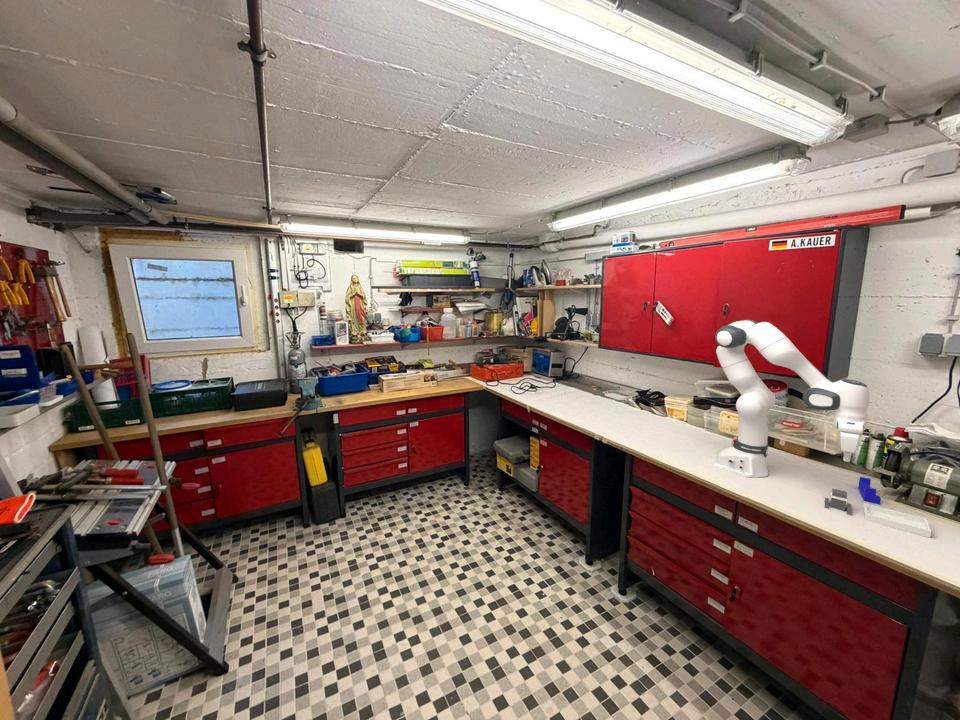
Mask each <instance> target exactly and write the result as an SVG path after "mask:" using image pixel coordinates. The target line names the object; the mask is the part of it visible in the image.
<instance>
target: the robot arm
mask: <svg viewBox="0 0 960 720" xmlns="http://www.w3.org/2000/svg"><path fill="white" fill-rule="evenodd" d="M714 339H715V342H716V344H717V345H718V346H717V348H716V350H715V353H716V356H717V359H718V362H719V364H720V366H721V369H722V370H723V372H724V374H725V376H726V378H727V379H728V382H729V384H730V385H732V386H733V387H734V388H735V389H736V390H737V392H739V394H740V396H739V397H738V399H737V400H736V403H735V409H736V410H737V416H738V417H737V418H738V434H737V436H738V437H737V436H734V437H733V438H732V443H731V444H732V445H731V446H728V447H724V448H722V449H721V450H719V452H718V454H717V456H715V457H713V458H712V459H711V462H710V463H711V465H712V466H713V467H716V468H720V469H722V470H724V471H728V472H729V473H732V474H735V475H739V476H742V477H744V478H764V477H765V478H766V477H768V476H769V469H768V463H767V457H768V455H769V444H768V439H769V428H770V427H769V426H768V417H767V415H768V411H769V410H771V409H772V408H773V407H774V406H775V404H776V396H775V394H774V393H773V391H771V390H770V389H769V388H768V387H767V385H766V384H765V382H763V380H762V378H760V377H759V375H758V374H757V372H756V370H755V369H754V367H753V365H752V363H751V361H750V360H749V358H748V356H747V355H746V352H745V347H746V346H747V347H748V346H750V345H752V346H754V347H755V349H756V350H757V351H758V352H759V353H760V354H761V355H762V357H763V358H765V359H766V360H767V361H768V362H769V363H770V364H773V365H775V366H779V367H783V368H787V369H789V370H791V371H792V372H793V371H794V373H796V374H797V375H798V377H800V378H801V379H802V380H803V381H804V382H805V383H806V384H807V385H808V386H809V388H807V389H806V390H805V391H804V392H803V394H802V401H803V403H804V404H805V405H806V406H807V407H808V408H810V409H812V410H815V411H816V410H817V411H833V413H834V414H833V421H832V422H833V424H832V425H833V426H835V427H836V429H837V431H838V432H839V439H840V449H841V452H842V453H843V457H842V459H843V461H844V462H846V463H847V462H848V463H850V462H851V459H852V455H853V454H856V452H857V451H858V447H859V442H860V437H861V435H863V434H864V431H865V430H867V425H868V423H867V422H868V414H867V412H868V411H867V410H868V407H869V405H870V389H869V387H868V385H867V384H866V383H864V382H862V381H859V380H855V379H850V378H849V379H848V378H847V379H846V378H844V379H843V378H842V379H840V380H838V381H837V380H836V381H833V380H831V379H830V378H828V377H827V376H825V374H823V373H822V372H821V371H820V370H819V369H818V368H817V367H816V366H815V365H814V364H813V363H812V362H811V361H809V359H807V358H806V357H805V356H804V354H803V353H801V351H800V350H799V349H798V348H797V347H796V345H795V344H793V342H792V341H791V340H790V338H788V336H787V335H785V333H783V331H781V330H780V329H778V328H777V327H776V326H775V325H773V324H772V323H771V322H767V321H762V322H758V321H755V320H753V319H741V320H739V321H734V322H732V323H730V324H727V325H724V326H722V327H719V329H718V330H717V331H716V332H715V335H714Z"/></svg>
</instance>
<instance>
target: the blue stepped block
mask: <svg viewBox="0 0 960 720" xmlns="http://www.w3.org/2000/svg"><path fill="white" fill-rule="evenodd" d="M871 481H872V480H871V478H869V477H863V476H859V480H858V487H857V489H858V491H859V493H860V495H861V497H862V499H863V502H866V503H869V504H870V503H871V504H873V505H875V504H876V505H877V506H878V505H881V499H882V497H881V496H880V495H878V494H877V489H876V488H874V487H871Z"/></svg>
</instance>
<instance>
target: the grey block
mask: <svg viewBox="0 0 960 720" xmlns="http://www.w3.org/2000/svg"><path fill="white" fill-rule="evenodd" d="M847 502H848V492H847V491H845V490H841V489H837V488H832V489H831V494H830V505H829V508H832V509H835V510H839V511H841V512H845V511H846V504H847Z"/></svg>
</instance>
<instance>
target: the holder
mask: <svg viewBox="0 0 960 720" xmlns="http://www.w3.org/2000/svg"><path fill="white" fill-rule="evenodd" d="M824 508H825V509H827V510H829V509H830V498H829V497H824ZM845 511H846V515H847V516H852V512H853V511H852V505H851V503H848V502H846V506H845Z"/></svg>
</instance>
